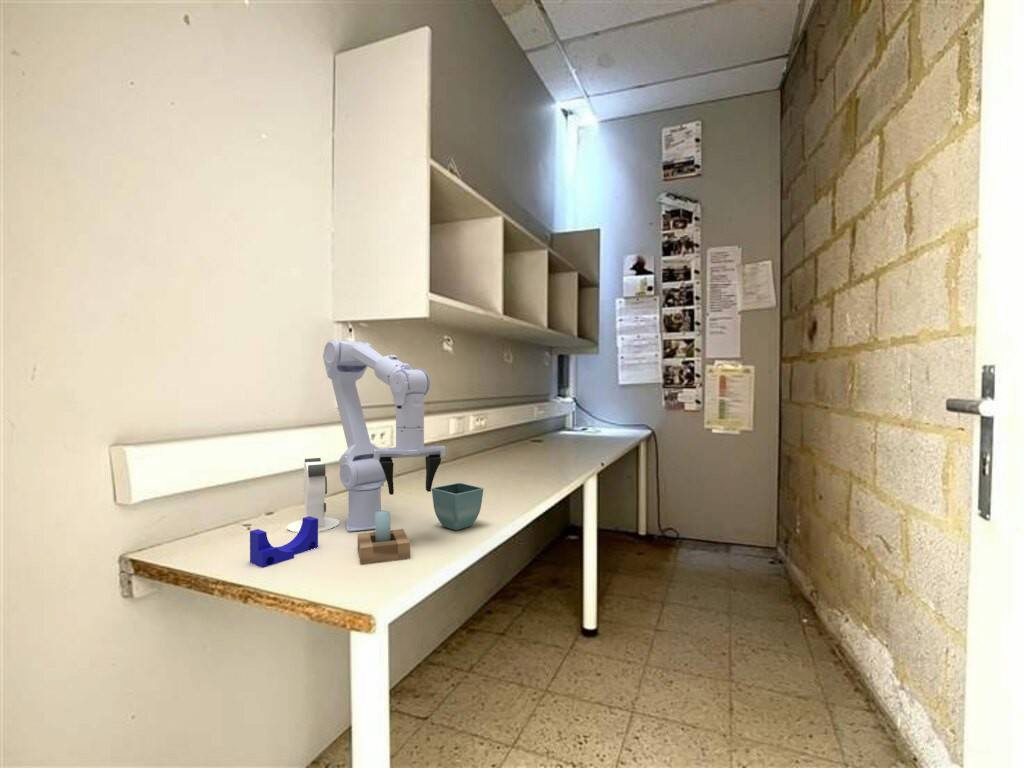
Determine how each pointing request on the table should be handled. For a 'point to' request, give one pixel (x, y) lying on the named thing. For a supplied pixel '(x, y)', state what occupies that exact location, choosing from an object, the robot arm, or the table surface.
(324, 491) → the white tower device
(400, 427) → the robot arm
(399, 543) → the open cardboard frame
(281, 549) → the blue cradle bracket
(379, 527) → the blue-gray dowel
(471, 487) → the flower pot
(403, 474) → the table surface
